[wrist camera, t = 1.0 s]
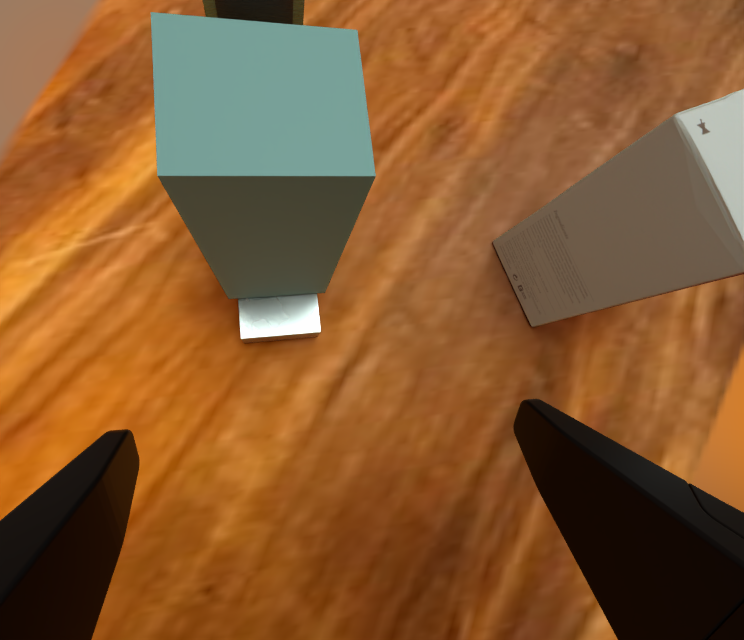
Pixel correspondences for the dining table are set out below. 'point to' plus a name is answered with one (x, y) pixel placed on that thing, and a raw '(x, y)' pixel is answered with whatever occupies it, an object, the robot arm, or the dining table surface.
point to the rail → (284, 312)
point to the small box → (638, 221)
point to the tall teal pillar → (262, 146)
